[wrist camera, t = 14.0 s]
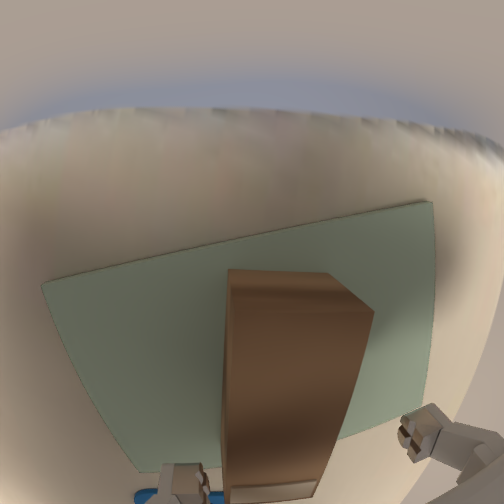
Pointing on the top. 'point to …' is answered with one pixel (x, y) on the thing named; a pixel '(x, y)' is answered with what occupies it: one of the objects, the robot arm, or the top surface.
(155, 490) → the handheld gaming device
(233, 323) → the walnut block
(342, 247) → the rubber mat
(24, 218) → the top surface
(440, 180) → the top surface
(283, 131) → the top surface
